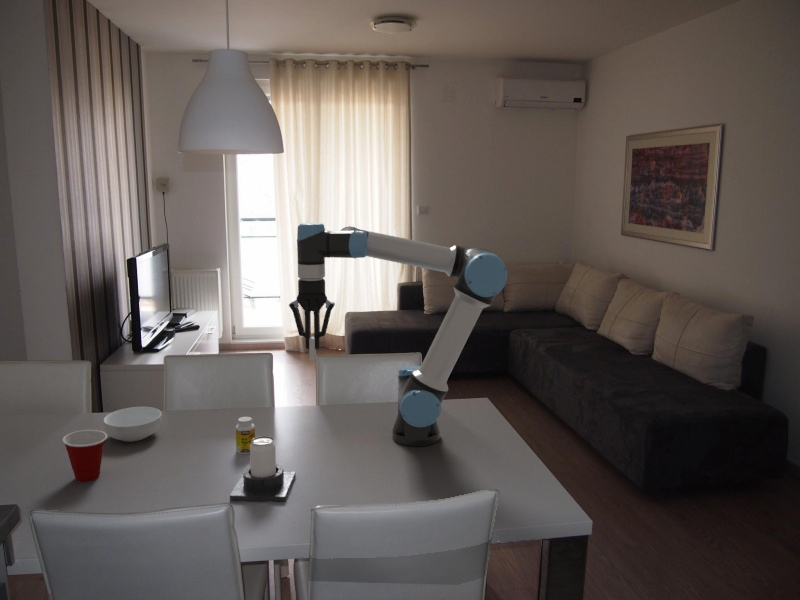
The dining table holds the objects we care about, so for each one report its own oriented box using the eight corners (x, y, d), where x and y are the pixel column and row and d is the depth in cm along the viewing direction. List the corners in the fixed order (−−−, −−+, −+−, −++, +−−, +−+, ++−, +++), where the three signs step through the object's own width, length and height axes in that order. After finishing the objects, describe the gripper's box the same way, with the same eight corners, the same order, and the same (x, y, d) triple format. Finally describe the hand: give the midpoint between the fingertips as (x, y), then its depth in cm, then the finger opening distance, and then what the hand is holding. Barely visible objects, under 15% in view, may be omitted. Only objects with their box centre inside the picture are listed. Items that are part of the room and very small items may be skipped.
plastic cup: (103, 485, 167) (99, 443, 165) (59, 488, 166) (55, 445, 163) (115, 467, 178) (112, 427, 175) (75, 469, 176) (71, 429, 174)
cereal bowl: (92, 442, 195) (90, 420, 193) (133, 423, 210) (132, 403, 209) (135, 451, 188) (133, 429, 187) (174, 431, 204) (172, 410, 202)
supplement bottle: (240, 456, 185) (238, 423, 184) (233, 449, 190) (232, 417, 188) (258, 452, 188) (257, 419, 187) (251, 445, 193) (250, 414, 191)
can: (253, 477, 169) (251, 435, 167) (277, 477, 170) (276, 435, 167) (249, 489, 163) (247, 445, 160) (274, 488, 163) (273, 445, 161)
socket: (295, 476, 173) (295, 459, 172) (284, 502, 159) (284, 483, 158) (244, 475, 173) (244, 458, 173) (230, 501, 160) (229, 482, 159)
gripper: (336, 276, 180) (337, 356, 185) (291, 276, 181) (293, 355, 185) (332, 280, 173) (333, 363, 177) (285, 280, 173) (287, 362, 178)
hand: (312, 359), depth 181 cm, fingers closed
